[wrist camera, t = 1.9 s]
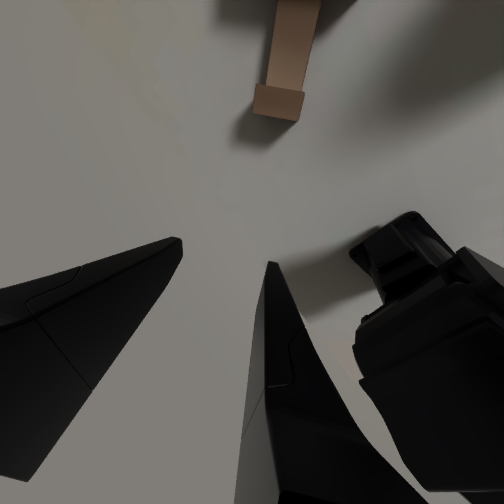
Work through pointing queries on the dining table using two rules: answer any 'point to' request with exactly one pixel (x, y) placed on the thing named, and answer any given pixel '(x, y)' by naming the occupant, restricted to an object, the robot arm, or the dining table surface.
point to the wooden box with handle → (288, 60)
